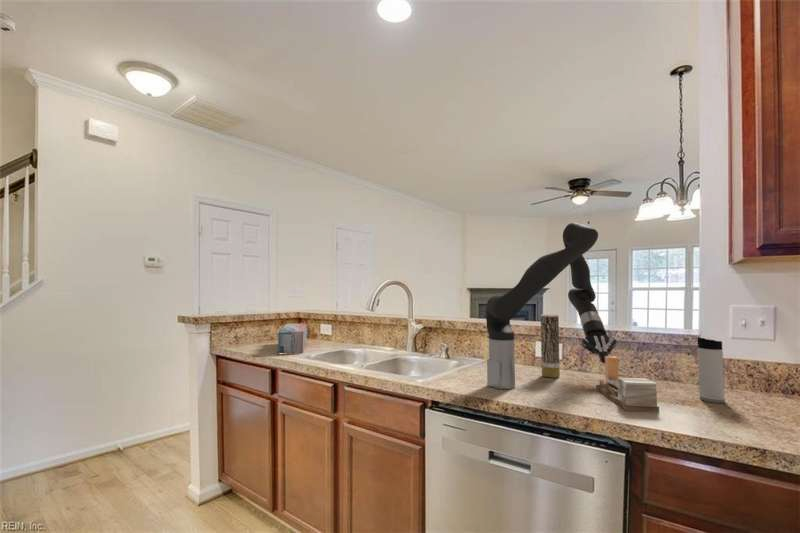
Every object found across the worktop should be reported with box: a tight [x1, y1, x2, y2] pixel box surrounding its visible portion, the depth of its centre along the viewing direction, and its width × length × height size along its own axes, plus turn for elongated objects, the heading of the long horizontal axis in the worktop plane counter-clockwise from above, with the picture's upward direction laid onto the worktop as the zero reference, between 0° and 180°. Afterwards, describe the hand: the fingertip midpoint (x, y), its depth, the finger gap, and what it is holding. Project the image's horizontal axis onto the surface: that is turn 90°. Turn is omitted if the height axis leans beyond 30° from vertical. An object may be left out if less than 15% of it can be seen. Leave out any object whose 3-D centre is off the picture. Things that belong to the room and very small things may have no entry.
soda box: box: [277, 323, 308, 354], centre depth 224 cm, size 41×14×13 cm, turn 12°
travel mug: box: [697, 337, 726, 404], centre depth 122 cm, size 6×7×20 cm
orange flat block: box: [604, 355, 619, 390], centre depth 127 cm, size 13×3×10 cm, turn 172°
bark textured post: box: [540, 313, 561, 379], centre depth 154 cm, size 7×7×25 cm
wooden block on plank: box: [595, 377, 660, 413], centre depth 123 cm, size 24×9×8 cm, turn 172°
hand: (605, 362), depth 139 cm, fingers closed
